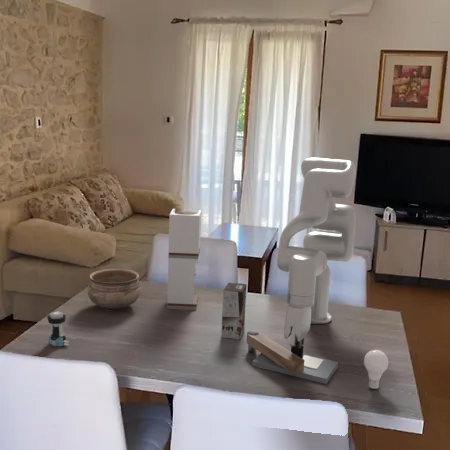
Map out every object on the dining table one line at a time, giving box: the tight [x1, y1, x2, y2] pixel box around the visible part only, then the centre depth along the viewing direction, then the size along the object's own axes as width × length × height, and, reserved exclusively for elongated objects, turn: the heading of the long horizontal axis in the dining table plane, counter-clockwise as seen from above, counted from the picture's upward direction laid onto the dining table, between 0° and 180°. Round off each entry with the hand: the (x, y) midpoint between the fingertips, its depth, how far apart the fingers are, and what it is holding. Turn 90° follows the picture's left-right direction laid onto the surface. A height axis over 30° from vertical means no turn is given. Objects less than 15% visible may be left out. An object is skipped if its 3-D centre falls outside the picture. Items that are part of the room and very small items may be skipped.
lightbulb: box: [363, 349, 389, 390], centre depth 155 cm, size 6×6×11 cm
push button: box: [46, 310, 70, 347], centre depth 175 cm, size 7×5×10 cm
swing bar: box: [246, 330, 304, 373], centre depth 167 cm, size 4×24×3 cm, turn 32°
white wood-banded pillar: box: [166, 208, 202, 311], centre depth 212 cm, size 11×11×35 cm
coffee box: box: [220, 282, 247, 340], centre depth 188 cm, size 9×6×16 cm
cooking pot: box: [87, 268, 142, 312], centre depth 207 cm, size 25×19×12 cm
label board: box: [252, 350, 339, 385], centre depth 168 cm, size 12×22×2 cm, turn 65°
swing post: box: [247, 344, 257, 354], centre depth 176 cm, size 2×2×3 cm
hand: (296, 358), depth 165 cm, fingers closed
